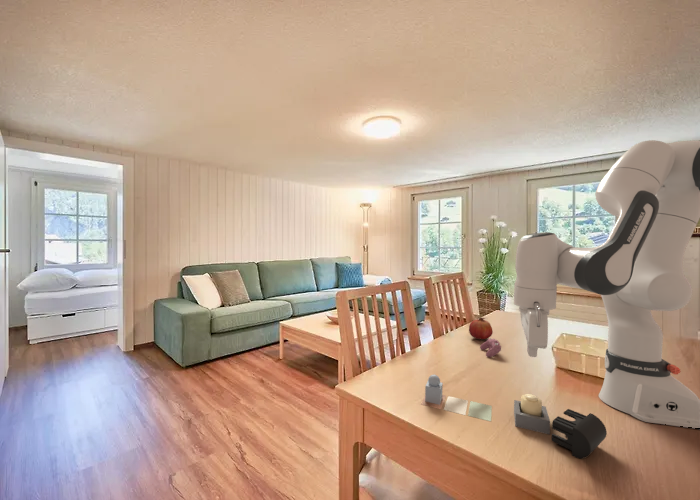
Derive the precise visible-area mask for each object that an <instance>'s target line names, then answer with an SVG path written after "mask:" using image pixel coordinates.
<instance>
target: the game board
mask: <svg viewBox="0 0 700 500" xmlns="http://www.w3.org/2000/svg"><path fill="white" fill-rule="evenodd" d="M446 396H447V395H446V394H442V400H441V403H440V405H438V404H434V403H430V402H426V401H425V396H424V397H423V399H422V400H421V404H420V405H422V406H425V407H430V408H434V409H439V410H443V411H445V412H450V413H455V414H458V415H459V414H460V415H463V416H468V417H471V418H476V419H480V420H483V421H487V422H492V413H493V412H492V409H493V408H492V405H489V404H485V403H481V402H477V401H472V400H471V401H470V402H469V400H468V399H463V398H460V397H459V398H458V397H455V396H449V395H448V396H447V399H446ZM445 399H446V401H445ZM444 403H445V405H444ZM468 404H469V407H468ZM443 405H444V408H443ZM442 408H443V409H442ZM467 408H468V413H467ZM466 413H467V415H466Z"/></svg>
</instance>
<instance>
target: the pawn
mask: <svg viewBox="0 0 700 500" xmlns="http://www.w3.org/2000/svg"><path fill="white" fill-rule="evenodd" d="M443 384H444V383H443V382H441V379H440V377H439V376H438V375H436V374H431V375H430V376H429V377H428V379H427V382H426V384H425V386H424V387H425V388H424V389H425V390H424V394H425V395H424V397H425V401H426V402H430V403H434V404H438V405H440V403H441V400H442V395H443Z"/></svg>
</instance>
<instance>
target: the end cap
mask: <svg viewBox="0 0 700 500" xmlns="http://www.w3.org/2000/svg"><path fill="white" fill-rule="evenodd" d="M563 415H565V416H567V417H569V418H572V419H574V420H569V419H566V418H564V417H562V416H559V415H557V417H556V418H553V420H552V423H551V429H552V430H555V431H557V432H559V433H561V434H563V435H565V436H566V438H565V437H562V436H560V435H556V434H555V433H551V442H553V443H555V444H557V445H559V446H561V447H563V448H565V449H567V450H569V451H571V456H572V457H574V458H576V459H580V460H581V459H586V458H588V457H589V456H590V455H591V454H592V453H593V452H594V451H595V450H596V449H597V448H598V446H599V445H601V443H602V442H603V441H604V440H605V439H606V437H607V433H608V432H607V428H606V425H605V424H604V422H603V421H602V420H601V419H600V418H599V417H598V416H596V415H595V414H593V413H588V414H587V415H585V414H583V413H580V412H577V411H575V410H572V409H570V408H568V409H566V410H565V411H563Z"/></svg>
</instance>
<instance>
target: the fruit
mask: <svg viewBox="0 0 700 500" xmlns="http://www.w3.org/2000/svg"><path fill="white" fill-rule="evenodd" d="M485 319H486V318H484V317H477V318H476V319H474V320H472V321H471V322H469V323H470V324H469V325H468V333H469V335H470V336H471V337H472V338H473V339H477V340H488V339H490V338H491V337H492V335H493V333H494V332H493V327H492V325H491V323H490V322H489V321H488V320H485Z"/></svg>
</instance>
